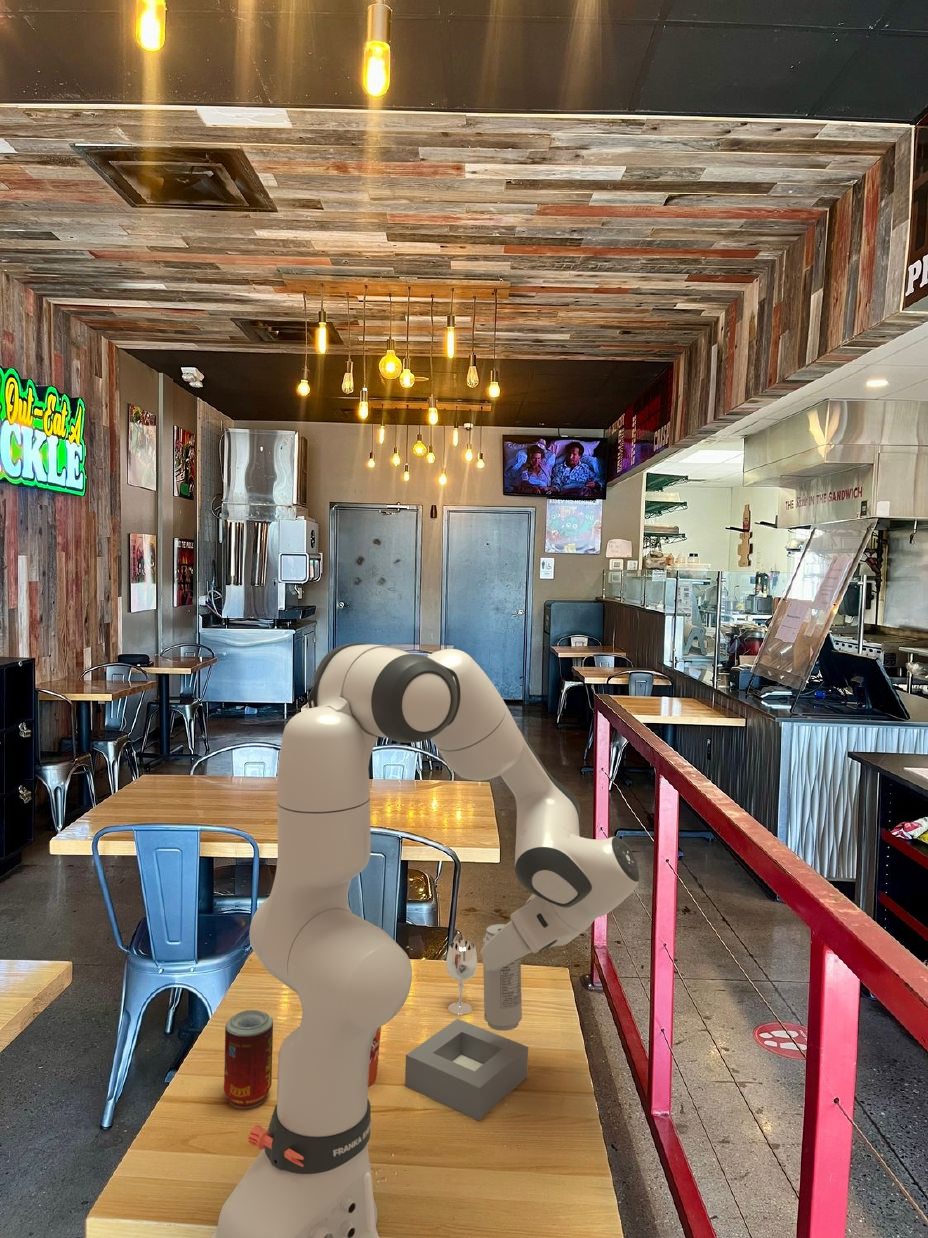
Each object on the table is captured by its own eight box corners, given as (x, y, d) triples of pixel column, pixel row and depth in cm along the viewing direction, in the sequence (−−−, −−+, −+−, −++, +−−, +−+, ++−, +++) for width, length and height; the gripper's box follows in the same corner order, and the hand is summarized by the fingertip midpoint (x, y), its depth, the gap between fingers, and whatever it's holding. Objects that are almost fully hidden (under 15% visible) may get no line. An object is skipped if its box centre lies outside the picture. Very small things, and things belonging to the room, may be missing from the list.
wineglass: (445, 1000, 160) (447, 938, 159) (475, 1002, 160) (478, 939, 159) (443, 1015, 154) (445, 951, 154) (475, 1017, 154) (477, 953, 153)
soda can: (229, 1083, 131) (231, 1006, 131) (275, 1083, 132) (277, 1007, 131) (218, 1111, 124) (220, 1030, 124) (266, 1112, 125) (268, 1031, 124)
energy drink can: (505, 1012, 139) (503, 920, 139) (529, 1024, 134) (527, 929, 135) (476, 1023, 135) (474, 928, 136) (501, 1036, 130) (499, 938, 131)
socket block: (478, 1121, 124) (479, 1088, 124) (404, 1086, 132) (405, 1055, 132) (527, 1077, 136) (528, 1047, 136) (456, 1047, 144) (457, 1018, 144)
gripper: (575, 879, 139) (521, 922, 145) (510, 913, 122) (452, 960, 128) (598, 913, 137) (542, 955, 143) (535, 952, 120) (474, 998, 126)
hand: (499, 958), depth 135 cm, fingers closed on energy drink can, 6 cm apart
